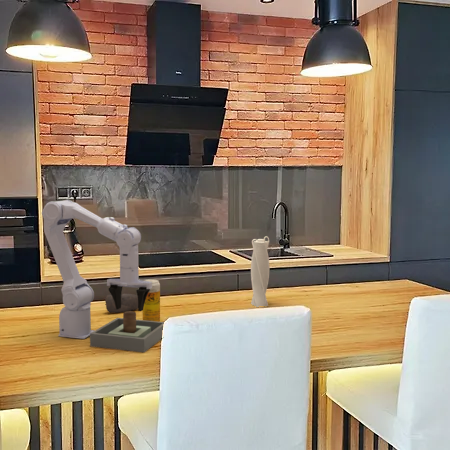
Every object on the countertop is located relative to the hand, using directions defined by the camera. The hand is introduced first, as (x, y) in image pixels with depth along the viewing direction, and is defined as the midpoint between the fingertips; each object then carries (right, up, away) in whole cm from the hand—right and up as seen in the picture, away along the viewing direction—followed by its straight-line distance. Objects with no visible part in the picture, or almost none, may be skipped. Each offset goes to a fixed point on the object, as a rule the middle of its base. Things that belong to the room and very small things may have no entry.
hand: (129, 309), depth 173 cm
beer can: (+4, -8, +20) cm, 22 cm away
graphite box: (0, -10, +1) cm, 10 cm away
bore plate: (0, -10, +1) cm, 10 cm away
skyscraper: (+44, -5, +44) cm, 63 cm away
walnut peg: (0, -9, +1) cm, 9 cm away
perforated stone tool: (-8, -6, +34) cm, 36 cm away
